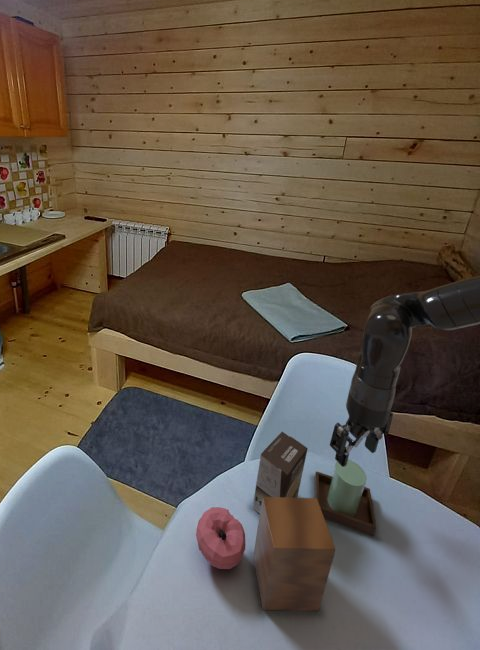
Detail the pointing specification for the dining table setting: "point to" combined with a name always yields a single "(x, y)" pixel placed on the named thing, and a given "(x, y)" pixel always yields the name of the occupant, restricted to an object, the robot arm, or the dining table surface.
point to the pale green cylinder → (346, 488)
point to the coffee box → (280, 469)
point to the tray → (360, 522)
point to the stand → (292, 554)
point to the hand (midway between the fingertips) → (355, 455)
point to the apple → (220, 538)
